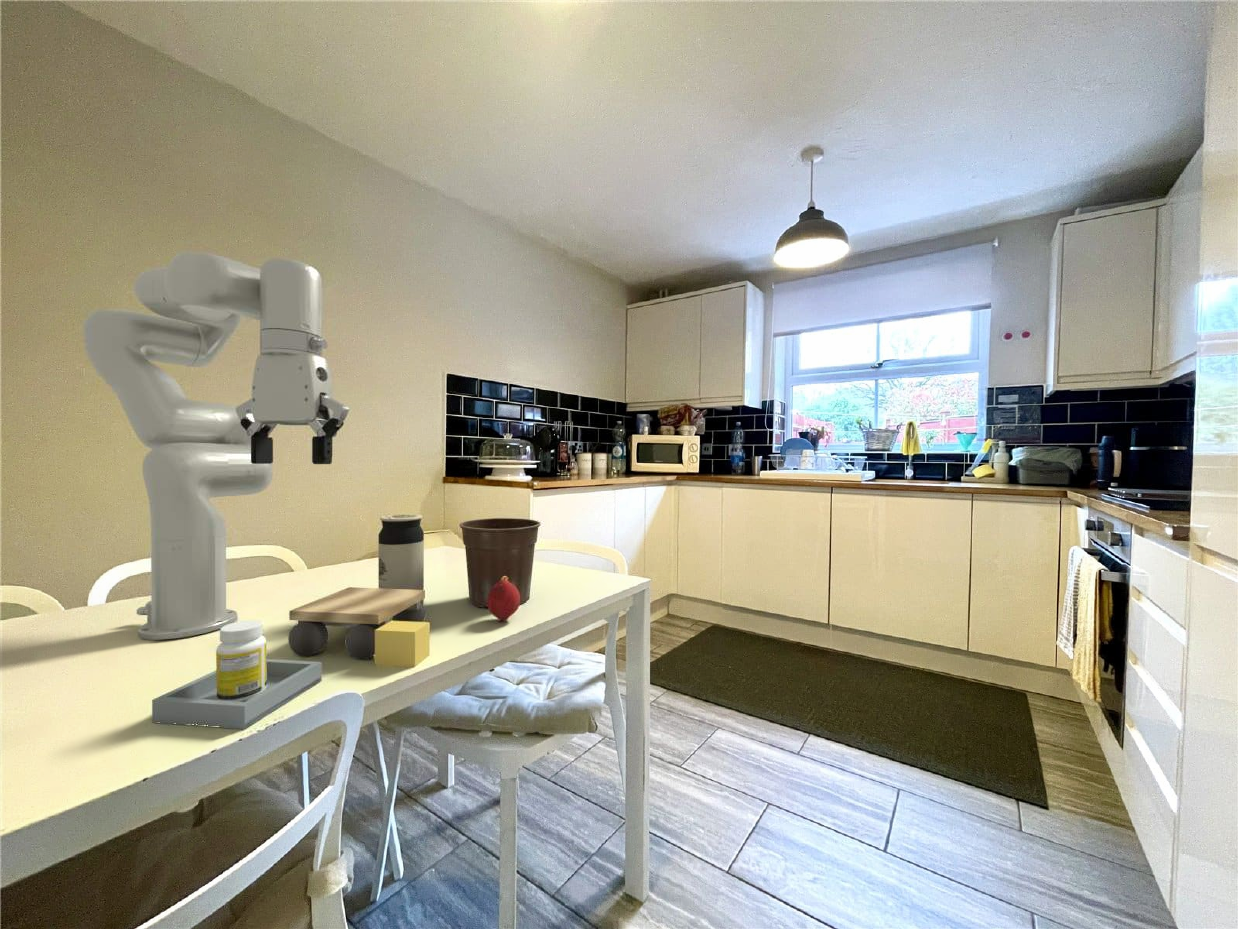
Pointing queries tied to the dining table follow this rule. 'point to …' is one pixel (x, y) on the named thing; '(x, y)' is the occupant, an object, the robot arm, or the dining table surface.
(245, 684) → the supplement bottle
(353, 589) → the dolly
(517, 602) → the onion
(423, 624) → the block
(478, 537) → the plant pot
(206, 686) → the tray
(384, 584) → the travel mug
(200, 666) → the dining table surface
